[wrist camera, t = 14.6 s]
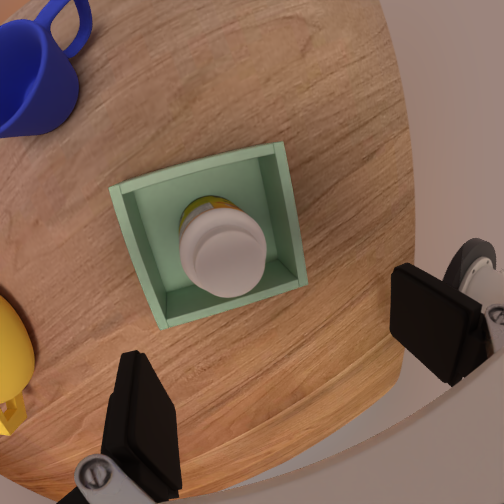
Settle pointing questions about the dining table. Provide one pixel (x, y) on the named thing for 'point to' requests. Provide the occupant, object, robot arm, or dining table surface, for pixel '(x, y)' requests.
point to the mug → (38, 72)
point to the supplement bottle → (221, 247)
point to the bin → (168, 217)
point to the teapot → (13, 367)
